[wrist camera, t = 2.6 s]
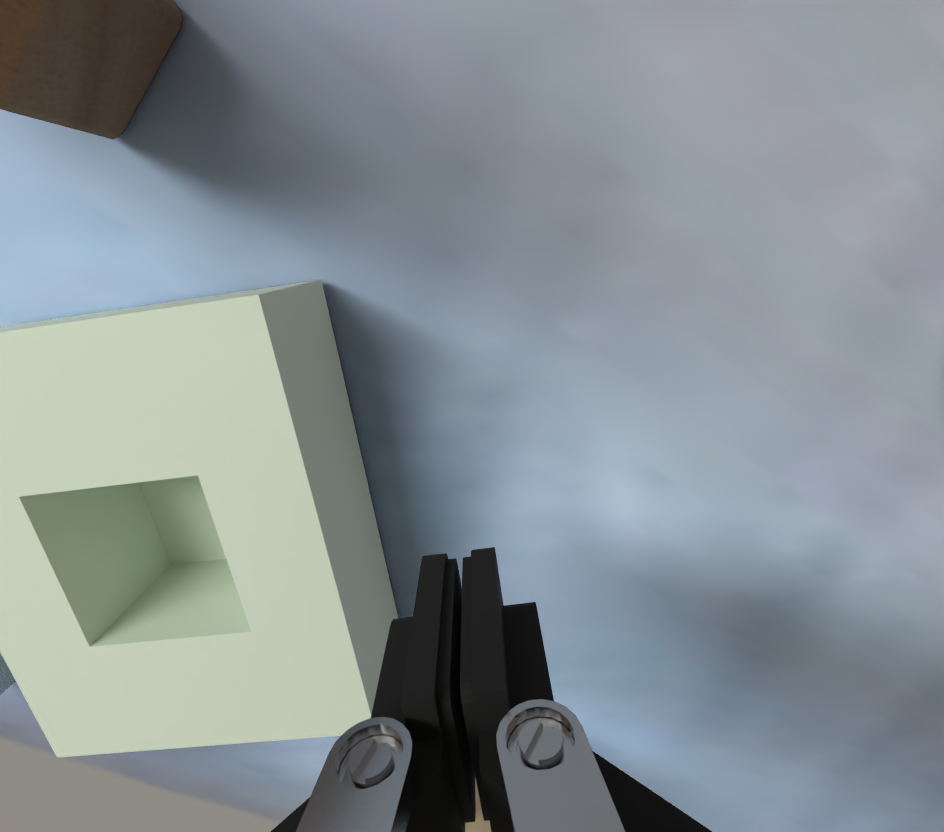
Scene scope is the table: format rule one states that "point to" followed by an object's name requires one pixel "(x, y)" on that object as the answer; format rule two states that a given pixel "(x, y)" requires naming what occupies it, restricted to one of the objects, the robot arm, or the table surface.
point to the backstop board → (5, 676)
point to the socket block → (187, 526)
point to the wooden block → (82, 59)
